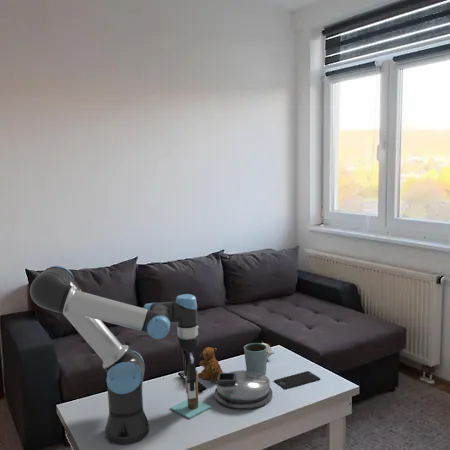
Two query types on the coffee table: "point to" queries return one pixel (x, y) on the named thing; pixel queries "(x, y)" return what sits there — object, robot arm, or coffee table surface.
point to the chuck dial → (243, 387)
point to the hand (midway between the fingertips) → (190, 395)
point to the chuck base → (243, 406)
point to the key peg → (194, 401)
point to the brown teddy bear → (209, 365)
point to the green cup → (256, 357)
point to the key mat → (190, 413)
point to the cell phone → (296, 380)
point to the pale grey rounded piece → (268, 350)
